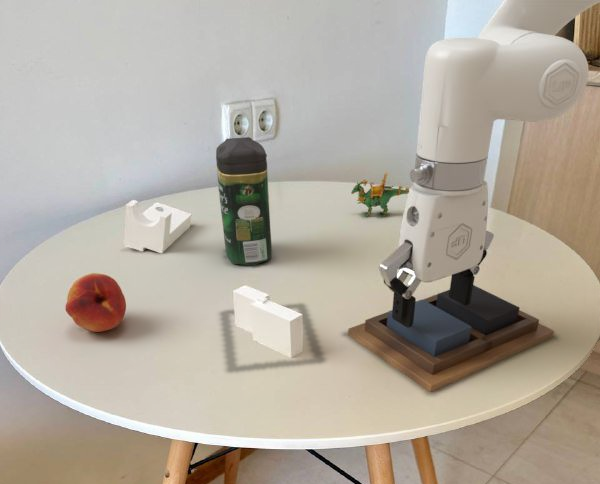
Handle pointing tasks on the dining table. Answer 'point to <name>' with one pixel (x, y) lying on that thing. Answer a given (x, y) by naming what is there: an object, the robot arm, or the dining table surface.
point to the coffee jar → (244, 200)
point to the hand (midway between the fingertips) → (431, 311)
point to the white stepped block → (268, 321)
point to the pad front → (432, 329)
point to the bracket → (154, 226)
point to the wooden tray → (453, 362)
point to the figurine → (377, 195)
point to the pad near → (480, 310)
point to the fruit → (96, 302)
